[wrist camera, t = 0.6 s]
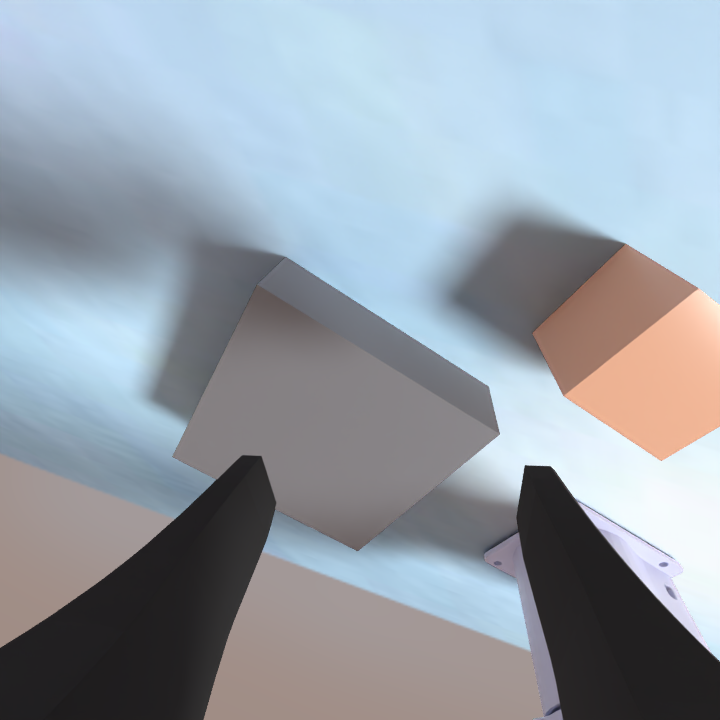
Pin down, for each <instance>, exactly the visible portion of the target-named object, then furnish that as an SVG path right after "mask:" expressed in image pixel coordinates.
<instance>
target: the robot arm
mask: <svg viewBox="0 0 720 720" xmlns="http://www.w3.org/2000/svg"><path fill="white" fill-rule="evenodd" d="M275 507H276V500H275V497H274V493H273V490H272V487H271V484H270V481H269V478H268V475H267V471H266V468H265V465H264V462H263V459H262V456H252V455H242V456H241V457H240V458H239V459H238V460H236V461H235V462H234V463H233V464H232V465H231V466H230V467H229V468H228V469H227V470H226V471H225V472H224V473H223V474H222V475H221V476H220V477H219V478H218V479H217V480H216V481H215V482H214V483H213V484H212V485H211V486H210V487H209V488H208V489H207V490H206V491H205V492H204V493H203V494H202V495H200V496H199V497H198V498H197V499H196V500H195V501H194V502H193V503H192V504H191V505H190V506H189V507H188V508H187V509H186V510H185V511H184V512H183V513H181V514H180V515H179V516H178V517H177V518H176V519H175V520H174V521H173V522H171V523H170V524H169V525H168V526H167V527H166V528H165V529H163V530H162V531H161V532H160V533H159V534H158V535H157V536H156V537H154V538H153V539H152V540H151V541H150V542H149V543H148V544H147V545H145V546H144V547H143V548H142V549H140V550H139V551H138V552H137V553H136V554H134V555H133V556H132V557H131V558H130V559H128V560H127V561H126V562H124V563H123V564H122V565H121V566H119V567H118V568H117V569H115V570H114V571H113V572H112V573H110V574H109V575H108V576H106V577H105V578H104V579H102V580H101V581H100V582H98V583H97V584H96V585H94V586H93V587H91V588H90V589H88V590H87V591H86V592H84V593H83V594H81V595H80V596H78V597H77V598H76V599H74V600H73V601H71V602H70V603H68V604H67V605H66V606H64V607H63V608H61V609H60V610H58V611H57V612H56V613H54V614H53V615H51V616H50V617H48V618H47V619H45V620H44V621H42V622H40V623H39V624H38V625H36V626H34V627H33V628H31V629H30V630H28V631H27V632H25V633H23V634H22V635H20V636H19V637H17V638H15V639H14V640H12V641H11V642H9V643H7V644H6V645H4V646H3V647H1V648H0V720H203V719H204V716H205V712H206V709H207V705H208V702H209V698H210V695H211V691H212V688H213V684H214V681H215V677H216V674H217V671H218V668H219V664H220V661H221V658H222V655H223V651H224V648H225V645H226V641H227V639H228V636H229V633H230V630H231V627H232V625H233V622H234V619H235V617H236V614H237V612H238V609H239V607H240V604H241V602H242V599H243V597H244V595H245V592H246V590H247V587H248V585H249V582H250V579H251V577H252V575H253V572H254V570H255V567H256V565H257V563H258V560H259V557H260V555H261V553H262V550H263V547H264V545H265V542H266V540H267V537H268V533H269V530H270V526H271V523H272V519H273V515H274V511H275ZM516 518H517V524H518V531H519V532H518V533H516V534H515V535H513V536H512V537H510V538H508V539H507V540H505V541H503V542H502V543H500V544H499V545H497V546H495V547H494V548H492V549H490V550H489V551H487V552H486V553H485V554H484V560H485V562H487V563H488V564H490V565H492V566H494V567H496V568H498V569H500V570H501V571H503V572H505V573H507V574H509V575H511V576H513V577H514V578H516V579H517V583H518V588H519V593H520V598H521V603H522V608H523V613H524V618H525V624H526V629H527V634H528V639H529V644H530V649H531V654H532V659H533V664H534V669H535V674H536V679H537V684H538V689H539V694H540V699H541V704H542V709H543V714H544V717H541V718H533V720H720V661H719V660H718V659H717V658H716V657H715V656H714V655H713V654H712V653H711V651H710V649H709V648H708V646H707V644H706V642H705V640H704V638H703V636H702V635H701V633H700V631H699V629H698V627H697V625H696V623H695V621H694V620H693V618H692V616H691V614H690V612H689V610H688V608H687V607H686V605H685V603H684V601H683V599H682V597H681V595H680V594H679V592H678V590H677V588H676V586H675V584H674V582H673V581H672V579H671V578H672V577H674V576H677V575H679V574H681V573H682V572H683V567H682V566H681V564H680V563H679V562H677V561H676V560H674V559H672V558H671V557H669V556H667V555H666V554H664V553H662V552H661V551H659V550H657V549H656V548H654V547H652V546H651V545H649V544H647V543H646V542H644V541H642V540H641V539H639V538H638V537H636V536H634V535H633V534H631V533H629V532H628V531H626V530H624V529H623V528H621V527H619V526H618V525H616V524H614V523H613V522H611V521H609V520H608V519H606V518H604V517H603V516H601V515H599V514H598V513H596V512H595V511H593V510H591V509H590V508H588V507H586V506H585V505H583V504H581V503H580V502H577V501H576V500H575V498H574V497H573V496H572V494H571V493H570V491H569V490H568V489H567V487H566V486H565V484H564V483H563V482H562V480H561V479H560V477H559V476H558V475H557V473H556V472H555V470H554V469H553V468H552V467H551V466H526V465H525V468H524V474H523V480H522V486H521V493H520V499H519V505H518V511H517V517H516Z"/></svg>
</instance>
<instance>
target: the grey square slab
mask: <svg viewBox="0 0 720 720" xmlns="http://www.w3.org/2000/svg"><path fill="white" fill-rule="evenodd" d="M498 435H500V433H499V429H498V424H497V420H496V416H495V412H494V407H493V403H492V399H491V395H490V390H489V387H488V386H487V385H485V384H484V383H482V382H481V381H479V380H477V379H476V378H474V377H473V376H471V375H470V374H468V373H466V372H465V371H463V370H462V369H460V368H459V367H457V366H456V365H454V364H452V363H451V362H449V361H448V360H446V359H445V358H443V357H441V356H440V355H438V354H437V353H435V352H434V351H432V350H431V349H429V348H427V347H426V346H424V345H423V344H421V343H420V342H418V341H416V340H415V339H413V338H412V337H410V336H409V335H407V334H406V333H404V332H402V331H401V330H399V329H398V328H396V327H395V326H393V325H391V324H390V323H388V322H387V321H385V320H384V319H382V318H381V317H379V316H377V315H376V314H374V313H373V312H371V311H370V310H368V309H366V308H365V307H363V306H362V305H360V304H359V303H357V302H356V301H354V300H352V299H351V298H349V297H348V296H346V295H345V294H343V293H341V292H340V291H338V290H337V289H335V288H334V287H332V286H331V285H329V284H327V283H326V282H324V281H323V280H321V279H320V278H318V277H316V276H315V275H313V274H312V273H310V272H309V271H307V270H306V269H304V268H302V267H301V266H299V265H298V264H296V263H295V262H293V261H291V260H290V259H288V258H287V257H285V258H284V259H283V260H282V261H281V262H280V263H279V264H278V265H277V266H276V267H275V268H274V269H273V270H272V271H270V272H269V273H268V274H267V275H266V276H265V277H264V278H263V279H262V280H261V281H260V282H259V283H258V284H257V285H256V288H255V290H254V292H253V294H252V296H251V298H250V300H249V302H248V304H247V306H246V308H245V310H244V312H243V314H242V316H241V318H240V320H239V322H238V324H237V326H236V328H235V330H234V332H233V334H232V336H231V338H230V340H229V342H228V344H227V347H226V349H225V351H224V353H223V355H222V357H221V359H220V361H219V363H218V365H217V367H216V369H215V371H214V373H213V375H212V377H211V379H210V381H209V383H208V385H207V387H206V389H205V391H204V393H203V395H202V397H201V399H200V401H199V403H198V405H197V408H196V410H195V412H194V414H193V416H192V418H191V420H190V422H189V424H188V426H187V428H186V430H185V432H184V434H183V436H182V438H181V440H180V442H179V444H178V446H177V448H176V450H175V452H174V454H173V456H172V457H173V458H175V459H177V460H179V461H181V462H183V463H185V464H187V465H189V466H191V467H193V468H195V469H197V470H199V471H201V472H203V473H205V474H207V475H209V476H211V477H213V478H215V479H218V478H219V477H220V476H221V475H222V474H223V473H224V472H225V471H226V470H227V469H228V468H229V467H230V466H231V465H232V464H233V463H234V462H235V461H236V460H238V459H239V458H240V457H241V456H242V455H252V456H262V459H263V462H264V465H265V468H266V471H267V475H268V478H269V481H270V484H271V487H272V490H273V493H274V497H275V500H276V507H275V509H276V510H278V511H280V512H281V513H283V514H285V515H287V516H289V517H291V518H293V519H295V520H297V521H299V522H301V523H303V524H305V525H307V526H309V527H311V528H313V529H315V530H317V531H319V532H321V533H323V534H325V535H327V536H329V537H331V538H333V539H335V540H337V541H339V542H341V543H343V544H344V545H346V546H348V547H350V548H352V549H354V550H356V551H359V550H360V549H361V548H362V547H363V546H365V545H366V544H367V543H368V542H370V541H371V540H372V539H373V538H374V537H376V536H377V535H378V534H379V533H380V532H382V531H383V530H384V529H385V528H387V527H388V526H389V525H390V524H391V523H393V522H394V521H395V520H396V519H397V518H399V517H400V516H401V515H402V514H404V513H405V512H406V511H407V510H408V509H410V508H411V507H412V506H413V505H414V504H416V503H417V502H418V501H419V500H421V499H422V498H423V497H424V496H425V495H427V494H428V493H429V492H430V491H432V490H433V489H434V488H435V487H436V486H438V485H439V484H440V483H441V482H442V481H444V480H445V479H446V478H447V477H449V476H450V475H451V474H452V473H453V472H455V471H456V470H457V469H458V468H459V467H461V466H462V465H463V464H464V463H466V462H467V461H468V460H469V459H470V458H472V457H473V456H474V455H475V454H476V453H478V452H479V451H480V450H481V449H483V448H484V447H485V446H486V445H487V444H489V443H490V442H491V441H492V440H493V439H495V438H496V437H497V436H498Z"/></svg>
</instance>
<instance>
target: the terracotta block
mask: <svg viewBox="0 0 720 720" xmlns="http://www.w3.org/2000/svg"><path fill="white" fill-rule="evenodd" d="M532 334H533V336H534V338H535V340H536V342H537V344H538V346H539V348H540V350H541V352H542V354H543V356H544V358H545V360H546V362H547V364H548V366H549V368H550V370H551V372H552V374H553V376H554V378H555V380H556V382H557V384H558V386H559V388H560V390H561V392H562V394H563V396H564V397H566V398H567V399H569V400H570V401H572V402H573V403H575V404H576V405H578V406H579V407H581V408H582V409H584V410H585V411H587V412H588V413H590V414H591V415H593V416H594V417H596V418H597V419H599V420H600V421H602V422H603V423H605V424H606V425H608V426H609V427H611V428H612V429H614V430H615V431H617V432H618V433H620V434H621V435H623V436H624V437H626V438H627V439H629V440H630V441H632V442H633V443H635V444H636V445H638V446H639V447H641V448H642V449H644V450H645V451H647V452H648V453H650V454H652V455H653V456H655V457H656V458H658V459H659V460H661V461H662V460H664V459H665V458H667V457H669V456H671V455H672V454H674V453H676V452H677V451H679V450H681V449H682V448H684V447H686V446H687V445H689V444H691V443H693V442H694V441H696V440H698V439H699V438H701V437H703V436H704V435H706V434H708V433H709V432H711V431H713V430H715V429H716V428H718V427H720V305H719V304H718V303H716V302H715V301H714V300H713V299H711V298H710V297H709V296H708V295H706V294H705V293H704V292H703V291H701V290H700V289H699V288H697V287H696V286H694V285H692V284H691V283H689V282H687V281H686V280H684V279H683V278H681V277H679V276H678V275H676V274H674V273H673V272H671V271H670V270H668V269H666V268H665V267H663V266H661V265H660V264H658V263H656V262H655V261H653V260H652V259H650V258H648V257H647V256H645V255H643V254H642V253H640V252H639V251H637V250H635V249H634V248H632V247H630V246H629V245H627V244H625V245H624V246H623V247H622V248H621V249H620V250H619V251H618V252H616V253H615V254H614V255H613V256H612V257H611V258H610V259H609V260H608V261H607V262H606V263H605V264H604V265H603V266H602V267H601V268H600V269H599V270H598V271H597V272H596V273H594V274H593V275H592V276H591V277H590V278H589V279H588V280H587V281H586V282H585V283H584V284H583V285H582V286H581V287H580V288H579V289H578V290H577V291H576V292H575V293H574V294H572V295H571V296H570V297H569V298H568V299H567V300H566V301H565V302H564V303H563V304H562V305H561V306H560V307H559V308H558V309H557V310H556V311H555V312H554V313H553V314H552V315H550V316H549V317H548V318H547V319H546V320H545V321H544V322H543V323H542V324H541V325H540V326H539V327H538V328H537V329H536V330H535V331H534V332H533V333H532Z"/></svg>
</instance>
